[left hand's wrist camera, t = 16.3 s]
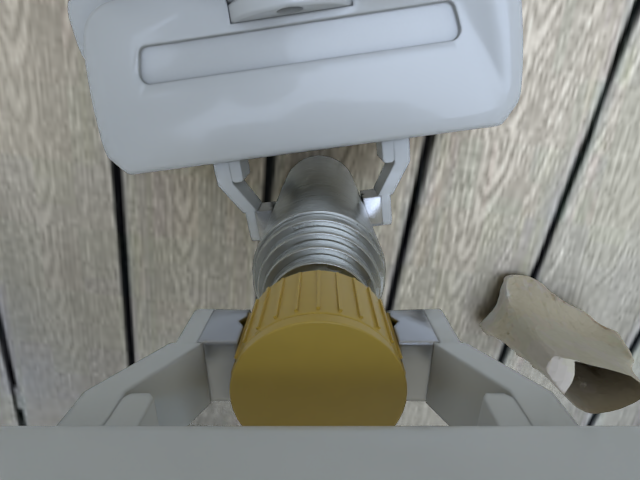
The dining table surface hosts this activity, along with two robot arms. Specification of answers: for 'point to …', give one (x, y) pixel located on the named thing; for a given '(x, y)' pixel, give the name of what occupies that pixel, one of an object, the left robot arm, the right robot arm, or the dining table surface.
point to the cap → (318, 356)
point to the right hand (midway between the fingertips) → (322, 229)
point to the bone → (564, 345)
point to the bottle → (319, 229)
